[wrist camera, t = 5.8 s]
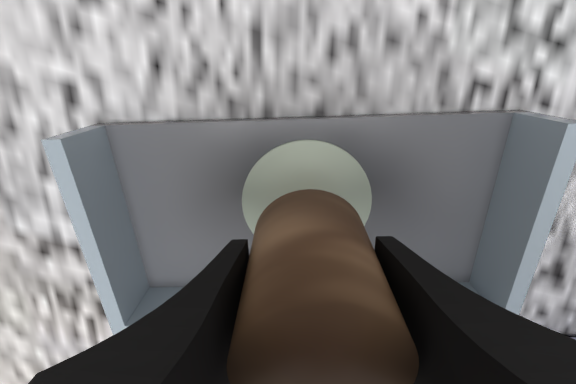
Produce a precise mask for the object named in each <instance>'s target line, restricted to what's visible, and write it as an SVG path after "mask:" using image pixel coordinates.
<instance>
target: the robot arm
mask: <svg viewBox="0 0 576 384" xmlns="http://www.w3.org/2000/svg"><path fill="white" fill-rule="evenodd" d="M374 251H375V253H376V255H377V258H378V260H379V262H380V265H381V267H382V269H383V272H384V274H385V276H386V279H387V281H388V283H389V286H390V288H391V290H392V293H393V295H394V297H395V300H396V302H397V304H398V307H399V309H400V311H401V313H402V316H403V318H404V320H405V323H406V325H407V327H408V330H409V332H410V334H411V337H412V339H413V341H414V344H415V346H416V349H417V352H418V356H419V369H418V374H417V377H416V380H415V382H414V384H576V337H568V336H565V335H563V334H560V333H558V332H555V331H553V330H550V329H548V328H546V327H543V326H541V325H539V324H537V323H534V322H532V321H530V320H528V319H526V318H523V317H521V316H519V315H517V314H515V313H513V312H511V311H509V310H507V309H505V308H503V307H501V306H499V305H497V304H495V303H493V302H491V301H489V300H487V299H486V298H484V297H482V296H480V295H478V294H477V293H475V292H473V291H471V290H469V289H468V288H466V287H464V286H463V285H461V284H460V283H458V282H456V281H455V280H453V279H452V278H450V277H449V276H447V275H446V274H444V273H443V272H441V271H440V270H438V269H437V268H435V267H434V266H432V265H431V264H430V263H428V262H427V261H425V260H424V259H423V258H421V257H420V256H419V255H417V254H416V253H415V252H413V251H412V250H411V249H409V248H408V247H407V246H405V245H404V244H403V243H401V242H400V241H399V240H397V239H396V238H394V237H393V236H376V239H375V249H374ZM248 260H249V248H248V239H233V240H231V241H230V242H229V243H228V244H227V245H226V246H225V247H224V248H223V249H222V250H221V251H220V252H219V254H218V255H217V256H216V257H215V258H214V259H213V260H212V261H211V262H210V263H209V264H208V265H207V266H206V267H205V268H204V269H203V270H202V271H201V272H200V273H199V274H198V275H197V276H196V277H194V278H193V279H192V280H191V281H190V282H189V283H188V284H187V285H186V286H185V287H183V288H182V289H181V290H180V291H179V292H177V293H176V294H175V295H174V296H172V297H171V298H170V299H168V300H167V301H166V302H164V303H163V304H162V305H160V306H159V307H157V308H156V309H155V310H153V311H151V312H150V313H148V314H147V315H145V316H144V317H142V318H141V319H139V320H138V321H136V322H135V323H133V324H132V325H130V326H128V327H127V328H125V329H123V330H122V331H120V332H118V333H117V334H115V335H113V336H111V337H110V338H108V339H106V340H104V341H102V342H100V343H99V344H97V345H95V346H93V347H91V348H89V349H87V350H85V351H83V352H81V353H79V354H77V355H75V356H73V357H71V358H69V359H67V360H65V361H63V362H60V363H58V364H56V365H54V366H52V367H50V368H48V369H46V370H44V371H41V372H39V373H37V374H36V375H35V376H34V378H33V379H32V380H31V381H30V382H29V383H28V384H230V382H229V379H228V375H227V358H228V353H229V349H230V344H231V339H232V335H233V330H234V325H235V321H236V316H237V311H238V307H239V302H240V297H241V292H242V288H243V283H244V278H245V274H246V269H247V264H248Z"/></svg>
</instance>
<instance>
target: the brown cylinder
mask: <svg viewBox="0 0 576 384" xmlns="http://www.w3.org/2000/svg"><path fill="white" fill-rule="evenodd" d="M418 369H419V356H418V352H417V349H416V346H415V344H414V341H413V339H412V337H411V334H410V332H409V330H408V327H407V325H406V323H405V320H404V318H403V316H402V313H401V311H400V309H399V307H398V304H397V302H396V300H395V297H394V295H393V293H392V290H391V288H390V286H389V283H388V281H387V279H386V276H385V274H384V272H383V269H382V267H381V265H380V262H379V260H378V258H377V255H376V253H375V251H374V248H373V246H372V244H371V241H370V239H369V237H368V234H367V232H366V230H365V227H364V225H363V223H362V220H361V218H360V216H359V214H358V213H357V211H356V210H355V208H354V207H353V206H352V205H351V204H350V203H349V202H347V201H346V200H345V199H343V198H341V197H340V196H338V195H336V194H333V193H331V192H327V191H323V190H317V189H305V190H298V191H293V192H290V193H287V194H285V195H283V196H281V197H279V198H277V199H276V200H274V201H273V202H272V203H271V204H269V205H268V206H267V207H266V208H265V210H264V211H263V212H262V214H261V215H260V217H259V219H258V221H257V224H256V227H255V232H254V236H253V241H252V246H251V250H250V255H249V260H248V264H247V269H246V274H245V278H244V283H243V288H242V292H241V297H240V302H239V307H238V311H237V316H236V321H235V325H234V330H233V335H232V339H231V344H230V349H229V353H228V358H227V375H228V379H229V382H230V384H414V382H415V380H416V377H417V374H418Z"/></svg>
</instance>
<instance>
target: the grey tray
mask: <svg viewBox="0 0 576 384" xmlns="http://www.w3.org/2000/svg"><path fill="white" fill-rule="evenodd" d="M41 141H42V144H43V147H44V149H45V152H46V155H47V158H48V160H49V163H50V166H51V168H52V171H53V174H54V176H55V179H56V182H57V184H58V187H59V190H60V193H61V195H62V198H63V201H64V203H65V206H66V209H67V211H68V214H69V217H70V219H71V222H72V225H73V228H74V230H75V233H76V236H77V238H78V241H79V244H80V246H81V249H82V252H83V255H84V257H85V260H86V263H87V265H88V268H89V271H90V273H91V276H92V279H93V281H94V284H95V287H96V290H97V292H98V295H99V298H100V300H101V303H102V306H103V308H104V311H105V314H106V316H107V319H108V322H109V325H110V327H111V330H112V333H113V335H115V334H117V333H118V332H120V331H122V330H123V329H125V328H127V327H128V326H130V325H132V324H133V323H135V322H136V321H138V320H139V319H141V318H142V317H144V316H145V315H147V314H148V313H150V312H151V311H153V310H155V309H156V308H157V307H159V306H160V305H162V304H163V303H164V302H166V301H167V300H168V299H170V298H171V297H172V296H174V295H175V294H176V293H177V292H179V291H180V290H181V289H182V288H183V287H185V286H186V285H187V284H188V283H189V282H190V281H191V280H192V279H193V278H194V277H196V276H197V275H198V274H199V273H200V272H201V271H202V270H203V269H204V268H205V267H206V266H207V265H208V264H209V263H210V262H211V261H212V260H213V259H214V258H215V257H216V256H217V255H218V254H219V252H220V251H221V250H222V249H223V248H224V247H225V246H226V245H227V244H228V243H229V242H230V241H231V240H233V239H248V248H249V255H250V250H251V246H252V241H253V236H254V232H255V227H256V224H257V221H258V219H259V217H260V215H261V214H262V212H263V211H264V210H265V208H266V207H267V206H268V205H269V204H271V203H272V202H273V201H274V200H276V199H277V198H279V197H281V196H283V195H285V194H287V193H290V192H293V191H298V190H305V189H317V190H323V191H327V192H331V193H333V194H336V195H338V196H340V197H341V198H343V199H345V200H346V201H347V202H349V203H350V204H351V205H352V206H353V207H354V208H355V210H356V211H357V213H358V214H359V216H360V218H361V220H362V223H363V225H364V227H365V230H366V232H367V234H368V237H369V239H370V241H371V244H372V246H373V248H374V249H375V239H376V236H393V237H394V238H396V239H397V240H399V241H400V242H401V243H403V244H404V245H405V246H407V247H408V248H409V249H411V250H412V251H413V252H415V253H416V254H417V255H419V256H420V257H421V258H423V259H424V260H425V261H427V262H428V263H430V264H431V265H432V266H434V267H435V268H437V269H438V270H440V271H441V272H443V273H444V274H446V275H447V276H449V277H450V278H452V279H453V280H455V281H456V282H458V283H460V284H461V285H463V286H464V287H466V288H468V289H469V290H471V291H473V292H475V293H477V294H478V295H480V296H482V297H484V298H486V299H487V300H489V301H491V302H493V303H495V304H497V305H499V306H501V307H503V308H505V309H507V310H509V311H511V312H513V313H515V314H517V315H519V313H520V311H521V308H522V305H523V302H524V300H525V297H526V294H527V292H528V289H529V286H530V283H531V281H532V278H533V275H534V273H535V270H536V267H537V265H538V262H539V259H540V256H541V254H542V251H543V248H544V246H545V243H546V240H547V237H548V235H549V232H550V229H551V227H552V224H553V221H554V218H555V216H556V213H557V210H558V208H559V205H560V202H561V200H562V197H563V194H564V191H565V189H566V186H567V183H568V181H569V178H570V175H571V172H572V170H573V167H574V164H575V162H576V120H571V119H566V118H560V117H555V116H550V115H544V114H539V113H534V112H528V111H523V110H517V111H485V112H454V113H423V114H392V115H361V116H329V117H298V118H267V119H236V120H205V121H174V122H142V123H111V124H94V125H91V126H87V127H84V128H81V129H77V130H74V131H70V132H67V133H63V134H60V135H56V136H53V137H49V138H46V139H42V140H41Z"/></svg>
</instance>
